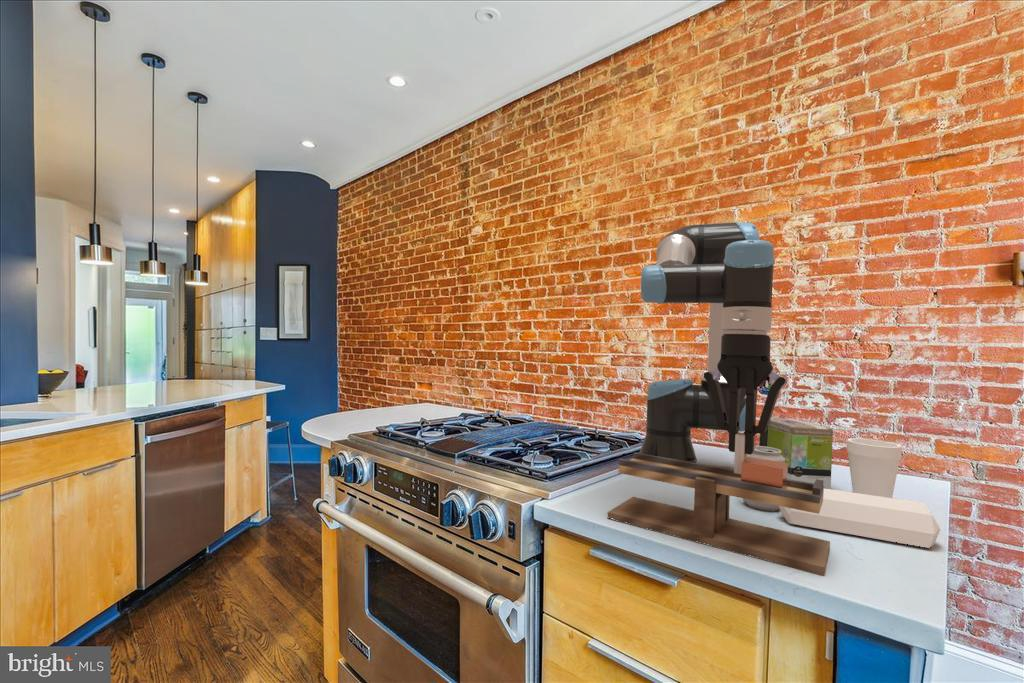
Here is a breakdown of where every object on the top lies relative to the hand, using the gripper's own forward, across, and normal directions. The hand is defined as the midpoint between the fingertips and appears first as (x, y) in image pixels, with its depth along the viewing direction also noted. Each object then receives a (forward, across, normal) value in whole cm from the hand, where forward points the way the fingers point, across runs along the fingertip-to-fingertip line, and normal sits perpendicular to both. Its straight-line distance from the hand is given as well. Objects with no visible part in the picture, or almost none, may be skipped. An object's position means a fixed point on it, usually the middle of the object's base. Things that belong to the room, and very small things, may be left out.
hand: (740, 472), depth 82 cm
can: (+12, 0, +22) cm, 25 cm away
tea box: (+12, +3, +48) cm, 49 cm away
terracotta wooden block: (+2, +4, 0) cm, 4 cm away
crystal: (+12, +16, +19) cm, 27 cm away
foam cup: (+12, +18, +41) cm, 46 cm away
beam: (+3, -4, 0) cm, 5 cm away
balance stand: (+12, -4, 0) cm, 12 cm away
